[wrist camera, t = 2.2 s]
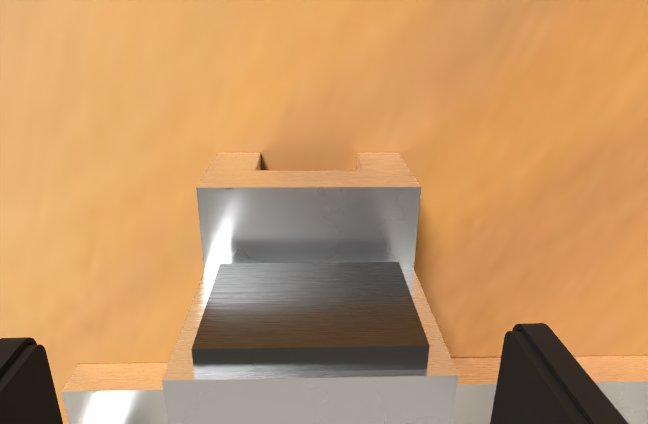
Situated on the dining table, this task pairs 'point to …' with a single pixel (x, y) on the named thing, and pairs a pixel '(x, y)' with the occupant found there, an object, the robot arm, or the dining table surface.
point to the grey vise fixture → (469, 408)
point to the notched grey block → (309, 301)
